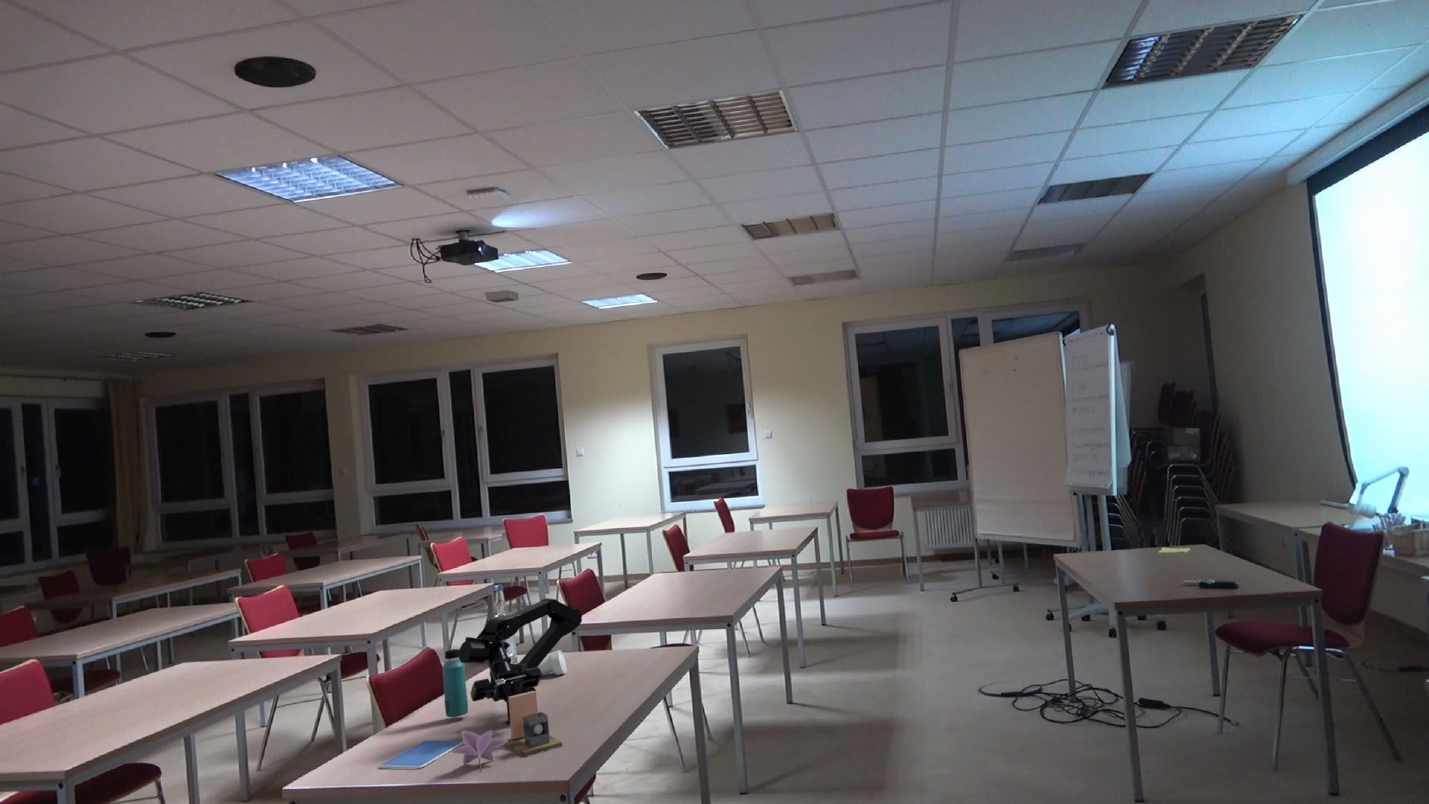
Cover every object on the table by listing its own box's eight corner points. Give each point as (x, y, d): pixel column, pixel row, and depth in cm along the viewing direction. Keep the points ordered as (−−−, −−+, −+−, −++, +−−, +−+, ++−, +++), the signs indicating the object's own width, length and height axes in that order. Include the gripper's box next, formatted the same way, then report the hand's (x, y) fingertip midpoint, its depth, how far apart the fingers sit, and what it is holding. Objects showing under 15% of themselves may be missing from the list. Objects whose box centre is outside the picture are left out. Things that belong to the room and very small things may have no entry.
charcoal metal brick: (525, 744, 221) (522, 716, 222) (543, 739, 224) (541, 711, 225) (531, 748, 218) (528, 719, 219) (549, 743, 221) (547, 714, 221)
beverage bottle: (473, 716, 256) (468, 647, 257) (458, 723, 250) (453, 652, 251) (456, 715, 259) (451, 647, 260) (440, 722, 253) (435, 652, 254)
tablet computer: (424, 744, 235) (424, 739, 235) (465, 744, 231) (465, 739, 231) (377, 771, 216) (377, 765, 216) (421, 771, 213) (421, 766, 213)
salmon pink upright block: (511, 738, 226) (508, 696, 227) (536, 731, 230) (533, 690, 231) (526, 746, 218) (523, 704, 219) (552, 739, 222) (549, 697, 223)
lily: (516, 766, 212) (509, 726, 217) (492, 762, 202) (485, 721, 207) (473, 783, 213) (466, 743, 218) (446, 781, 203) (440, 739, 208)
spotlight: (564, 673, 293) (558, 649, 296) (531, 683, 294) (526, 659, 296) (569, 672, 301) (564, 649, 303) (538, 681, 301) (533, 658, 303)
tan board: (504, 744, 227) (504, 740, 227) (540, 734, 232) (540, 730, 232) (524, 756, 215) (524, 752, 215) (562, 746, 221) (562, 742, 221)
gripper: (524, 672, 251) (542, 719, 242) (460, 687, 241) (476, 736, 231) (532, 648, 245) (551, 695, 236) (467, 662, 235) (484, 712, 225)
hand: (516, 710), depth 232 cm, fingers closed
